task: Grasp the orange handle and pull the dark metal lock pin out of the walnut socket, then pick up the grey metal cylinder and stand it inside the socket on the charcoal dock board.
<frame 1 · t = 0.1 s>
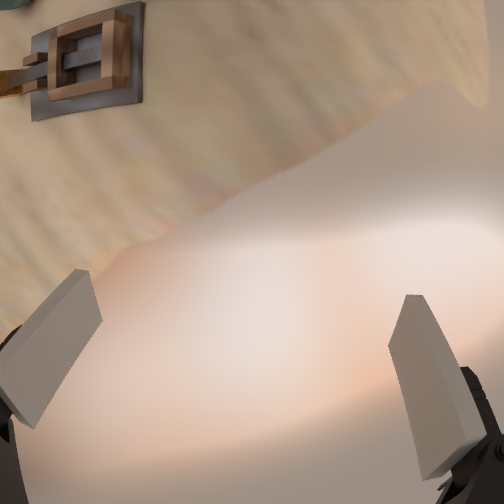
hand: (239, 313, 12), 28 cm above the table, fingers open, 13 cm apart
lock pin: (41, 69, 28), point 5 cm above the table, slide at 0.0 cm
dock: (73, 65, 32), on the table
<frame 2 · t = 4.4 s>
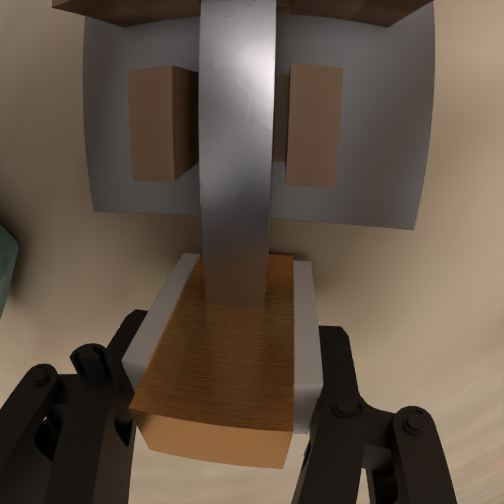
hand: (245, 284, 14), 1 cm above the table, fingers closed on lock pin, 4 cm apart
lock pin: (234, 53, 7), point 5 cm above the table, slide at 0.0 cm, touching gripper
dock: (253, 21, 10), on the table
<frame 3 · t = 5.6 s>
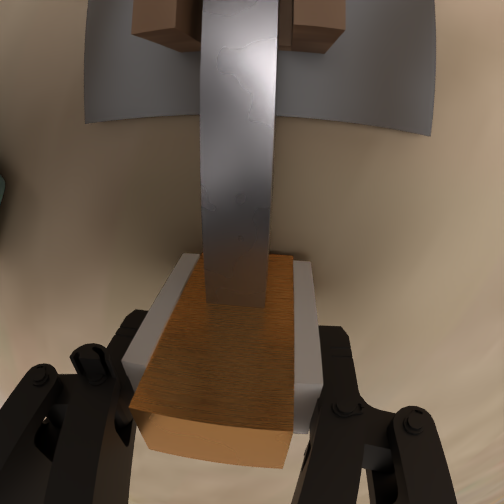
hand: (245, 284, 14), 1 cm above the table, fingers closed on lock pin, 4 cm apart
lock pin: (235, 53, 7), point 5 cm above the table, slide at 4.0 cm, touching gripper
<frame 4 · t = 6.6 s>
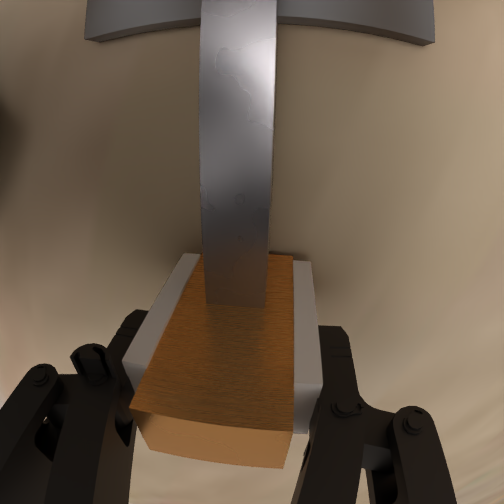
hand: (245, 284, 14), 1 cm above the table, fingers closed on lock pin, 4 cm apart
lock pin: (234, 53, 7), point 5 cm above the table, slide at 7.9 cm, touching gripper
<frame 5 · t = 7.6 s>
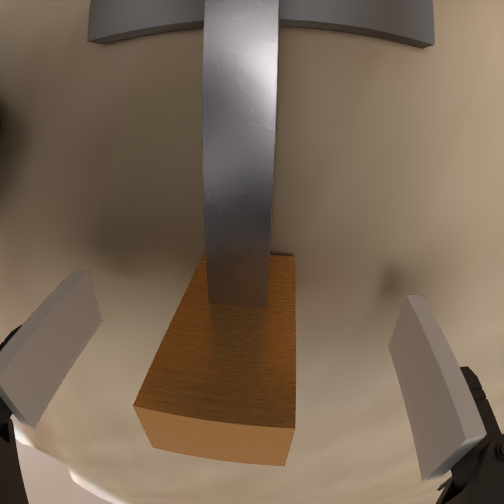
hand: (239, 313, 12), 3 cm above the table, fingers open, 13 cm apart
lock pin: (237, 57, 7), point 5 cm above the table, slide at 7.9 cm
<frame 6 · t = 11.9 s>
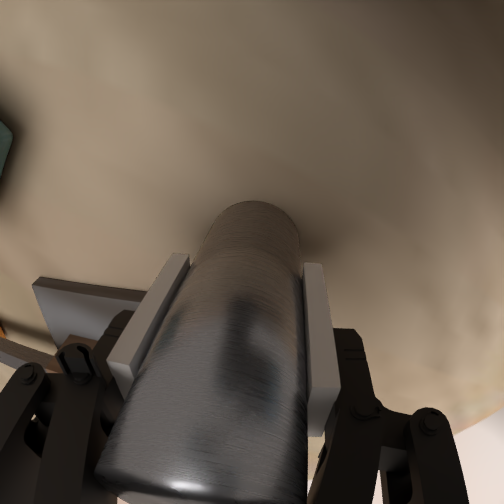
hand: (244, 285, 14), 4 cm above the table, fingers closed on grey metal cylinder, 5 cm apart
grey metal cylinder: (254, 243, 18), on the table, touching gripper
lock pin: (23, 370, 20), point 5 cm above the table, slide at 7.9 cm
dock: (139, 359, 23), on the table
when the fingers open (7 cm above the table, at t = 15.5 s): grey metal cylinder drops 1 cm, resting on dock.
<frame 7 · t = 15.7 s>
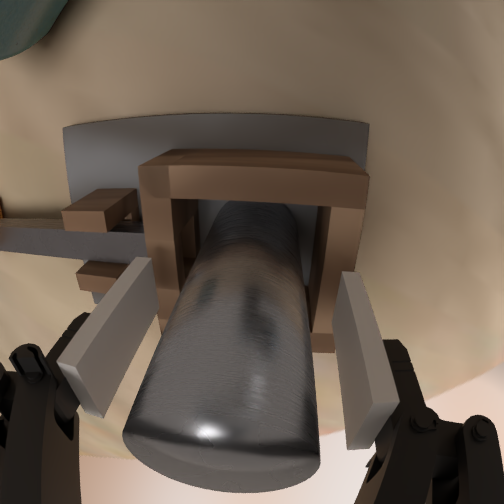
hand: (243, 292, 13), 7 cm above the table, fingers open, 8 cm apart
grey metal cylinder: (254, 232, 19), point 1 cm above the table, touching dock
lock pin: (26, 243, 17), point 5 cm above the table, slide at 7.9 cm
dock: (182, 221, 20), on the table
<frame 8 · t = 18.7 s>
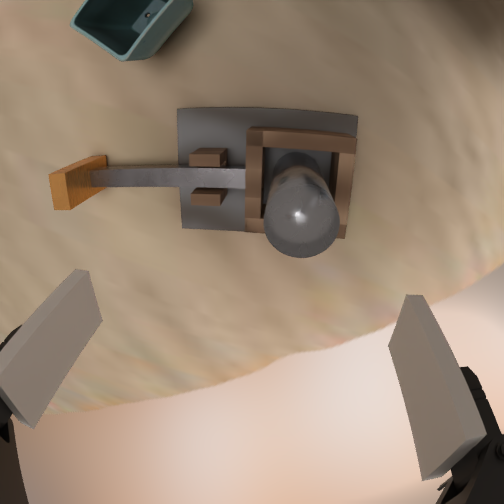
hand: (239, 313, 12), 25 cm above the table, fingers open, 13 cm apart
grey metal cylinder: (296, 174, 33), point 1 cm above the table, touching dock
lock pin: (149, 178, 31), point 5 cm above the table, slide at 7.9 cm
dock: (251, 169, 34), on the table
flower pot: (158, 21, 27), on the table
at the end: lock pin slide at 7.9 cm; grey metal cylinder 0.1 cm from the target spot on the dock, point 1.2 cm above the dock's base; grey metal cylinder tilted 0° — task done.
